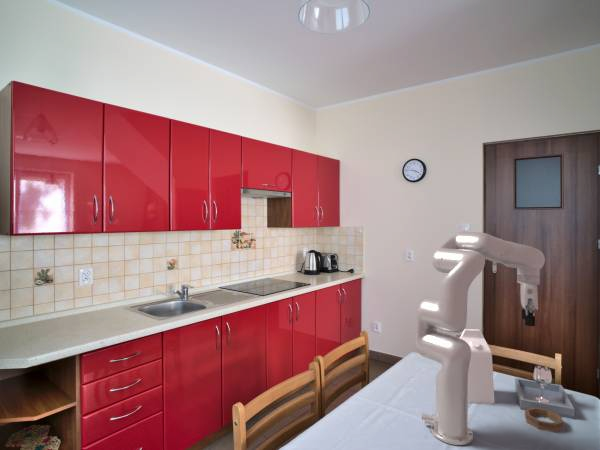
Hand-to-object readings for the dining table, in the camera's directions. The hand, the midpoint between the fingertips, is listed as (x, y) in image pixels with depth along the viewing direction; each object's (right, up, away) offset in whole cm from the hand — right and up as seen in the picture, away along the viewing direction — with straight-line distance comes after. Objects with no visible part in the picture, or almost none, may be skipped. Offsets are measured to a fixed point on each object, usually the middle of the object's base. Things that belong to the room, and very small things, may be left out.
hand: (528, 322), depth 144 cm
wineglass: (+1, -28, -7) cm, 28 cm away
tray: (+2, -28, -6) cm, 29 cm away
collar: (-7, -29, -20) cm, 36 cm away
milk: (-23, -29, -1) cm, 37 cm away
